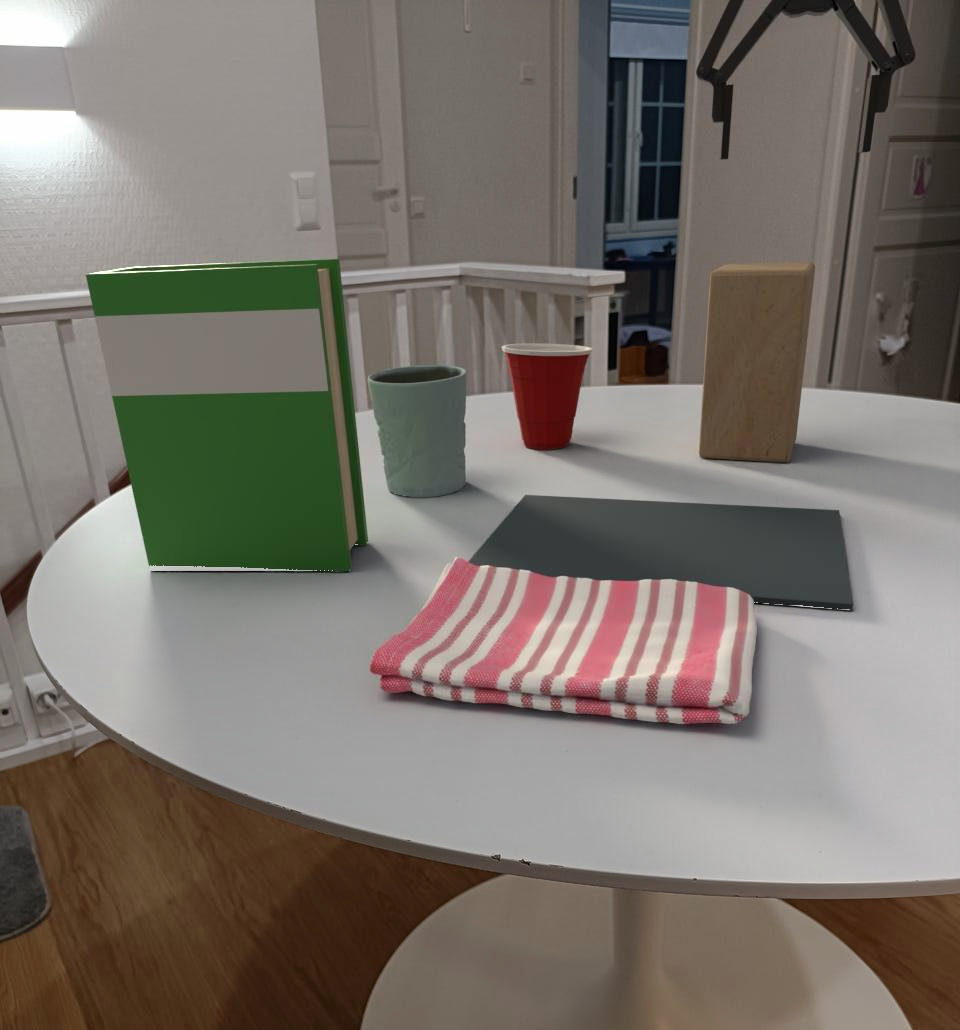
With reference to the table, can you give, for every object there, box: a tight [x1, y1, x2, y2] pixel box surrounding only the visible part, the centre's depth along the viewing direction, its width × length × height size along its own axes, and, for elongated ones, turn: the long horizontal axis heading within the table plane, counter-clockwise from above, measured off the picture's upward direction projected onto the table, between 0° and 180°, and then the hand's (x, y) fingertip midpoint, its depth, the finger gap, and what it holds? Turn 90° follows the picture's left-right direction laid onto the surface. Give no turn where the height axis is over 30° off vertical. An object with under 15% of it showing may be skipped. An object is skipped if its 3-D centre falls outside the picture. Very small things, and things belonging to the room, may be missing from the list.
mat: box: [467, 494, 854, 611], centre depth 79 cm, size 30×22×1 cm
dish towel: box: [369, 556, 758, 725], centre depth 60 cm, size 17×23×4 cm
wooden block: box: [698, 262, 816, 464], centre depth 102 cm, size 10×10×20 cm
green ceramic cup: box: [367, 364, 468, 498], centre depth 96 cm, size 10×10×12 cm
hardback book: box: [85, 258, 369, 572], centre depth 76 cm, size 18×7×24 cm, turn 84°
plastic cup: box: [501, 343, 594, 451], centre depth 111 cm, size 11×11×12 cm
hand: (793, 156), depth 93 cm, fingers open, 13 cm apart
